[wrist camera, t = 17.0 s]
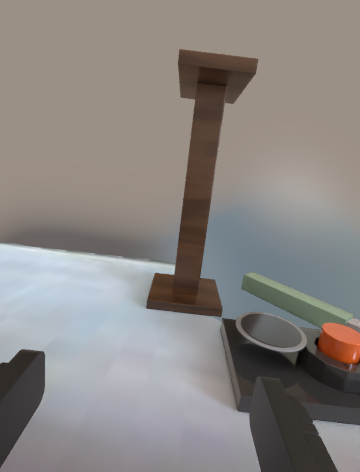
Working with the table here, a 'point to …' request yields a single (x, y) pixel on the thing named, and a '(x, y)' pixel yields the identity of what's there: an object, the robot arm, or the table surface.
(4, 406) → the robot arm
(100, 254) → the table surface
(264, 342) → the burner ring
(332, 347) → the button
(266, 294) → the green and grey stick
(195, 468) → the table surface
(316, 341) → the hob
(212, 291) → the stand
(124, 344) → the table surface
